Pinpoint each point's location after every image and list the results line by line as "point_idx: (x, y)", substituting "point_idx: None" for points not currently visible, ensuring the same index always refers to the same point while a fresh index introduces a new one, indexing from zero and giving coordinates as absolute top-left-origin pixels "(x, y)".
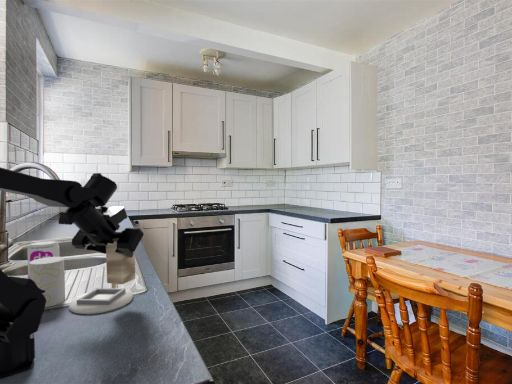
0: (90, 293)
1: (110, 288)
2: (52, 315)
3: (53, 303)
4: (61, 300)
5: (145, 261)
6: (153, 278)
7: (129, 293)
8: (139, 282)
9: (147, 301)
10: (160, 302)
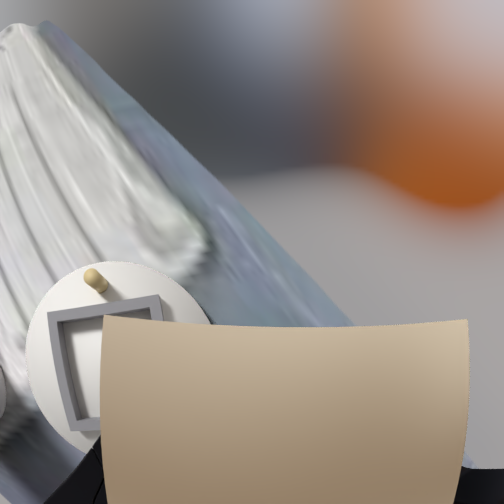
0: (63, 366)
1: (98, 305)
2: (62, 472)
3: (1, 407)
4: (2, 383)
5: (76, 48)
6: (162, 135)
7: (182, 303)
8: (133, 173)
9: (275, 325)
10: (321, 320)
